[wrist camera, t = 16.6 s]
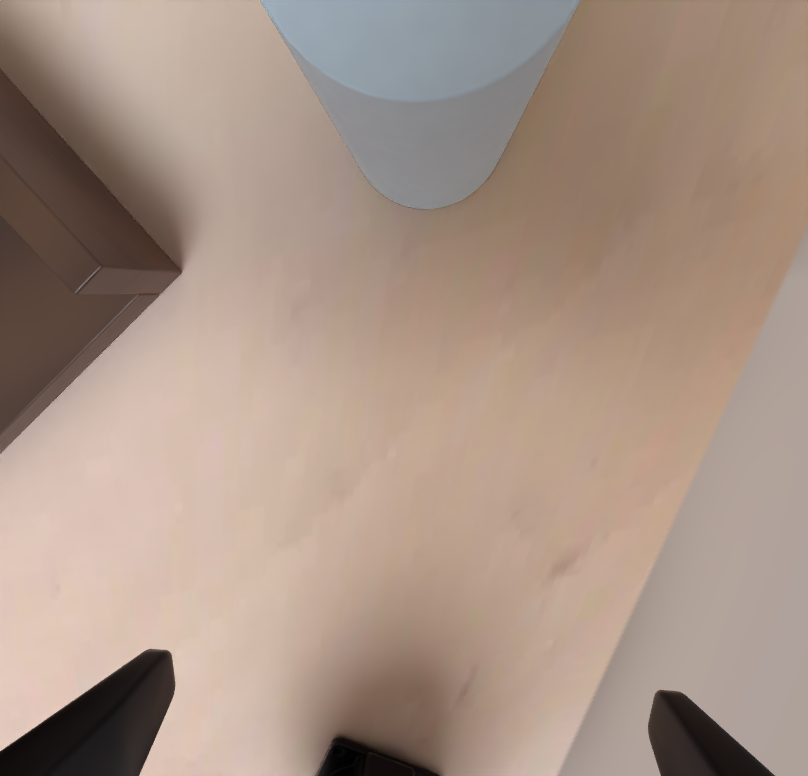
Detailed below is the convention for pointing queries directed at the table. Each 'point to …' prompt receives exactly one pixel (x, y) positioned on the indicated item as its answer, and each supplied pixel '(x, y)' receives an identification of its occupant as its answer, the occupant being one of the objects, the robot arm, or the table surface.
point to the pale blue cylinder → (423, 83)
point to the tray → (60, 264)
